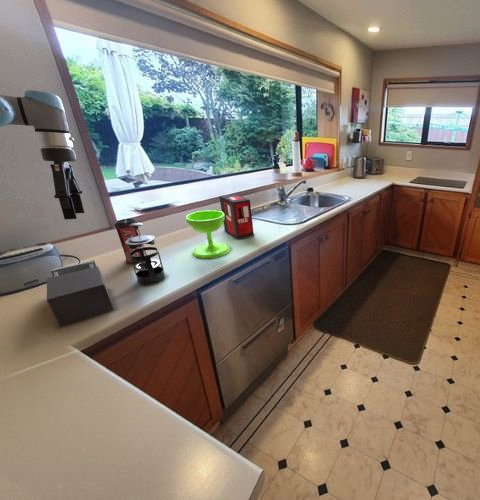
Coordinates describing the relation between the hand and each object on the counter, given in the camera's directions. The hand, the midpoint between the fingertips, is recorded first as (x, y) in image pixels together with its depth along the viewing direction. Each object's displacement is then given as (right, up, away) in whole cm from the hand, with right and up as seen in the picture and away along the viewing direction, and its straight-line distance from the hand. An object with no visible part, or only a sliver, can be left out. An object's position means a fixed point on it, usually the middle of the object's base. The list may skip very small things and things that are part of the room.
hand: (75, 216), depth 93 cm
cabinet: (+3, -30, 0) cm, 30 cm away
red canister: (-3, -16, +32) cm, 36 cm away
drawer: (-4, -26, +7) cm, 27 cm away
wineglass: (+25, -12, +42) cm, 50 cm away
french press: (+13, -23, +18) cm, 32 cm away
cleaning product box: (+29, -2, +65) cm, 71 cm away
